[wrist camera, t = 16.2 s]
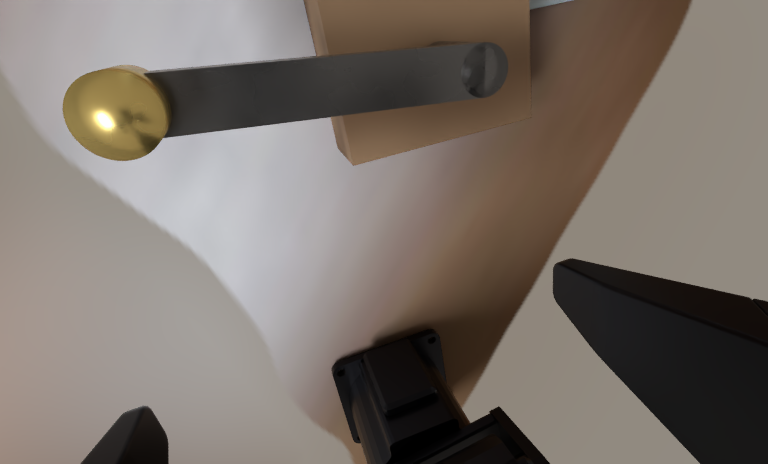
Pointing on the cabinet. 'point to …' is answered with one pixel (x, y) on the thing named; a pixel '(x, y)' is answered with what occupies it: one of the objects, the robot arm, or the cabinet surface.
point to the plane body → (417, 29)
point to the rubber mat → (544, 3)
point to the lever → (270, 93)
